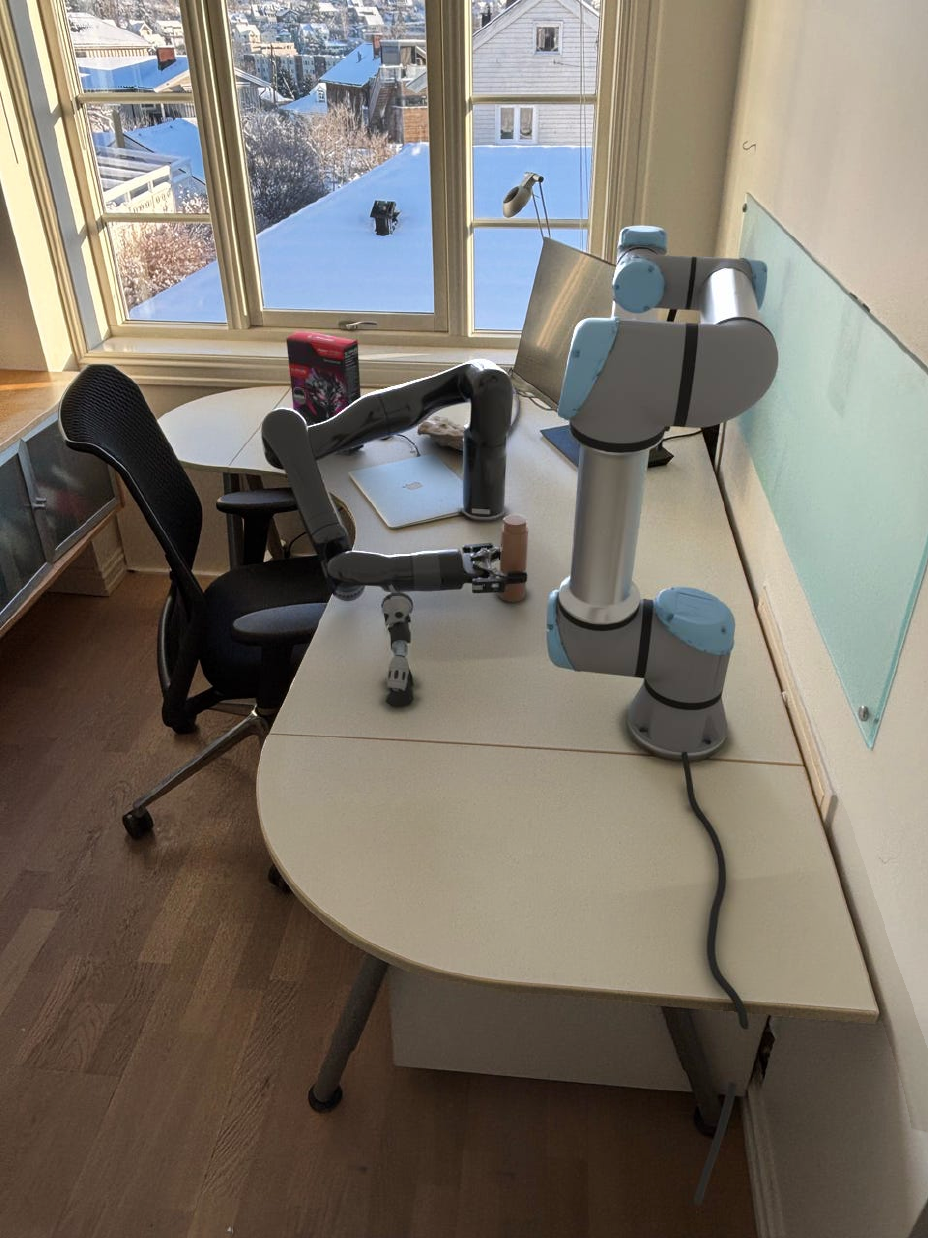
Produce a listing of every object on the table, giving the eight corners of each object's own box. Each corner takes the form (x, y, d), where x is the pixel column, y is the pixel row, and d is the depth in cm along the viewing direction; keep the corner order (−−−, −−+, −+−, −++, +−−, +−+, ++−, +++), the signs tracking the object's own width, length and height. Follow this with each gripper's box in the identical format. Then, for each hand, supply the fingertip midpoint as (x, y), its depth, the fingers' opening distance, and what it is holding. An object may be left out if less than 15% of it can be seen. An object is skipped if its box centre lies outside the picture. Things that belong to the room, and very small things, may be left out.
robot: (415, 731, 142) (412, 624, 131) (384, 732, 142) (378, 624, 131) (414, 656, 158) (412, 555, 147) (386, 656, 158) (381, 555, 147)
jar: (526, 601, 174) (530, 525, 165) (500, 602, 173) (503, 526, 164) (522, 587, 178) (526, 512, 169) (497, 588, 177) (499, 513, 168)
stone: (401, 440, 228) (406, 416, 226) (420, 431, 242) (425, 408, 239) (481, 464, 225) (487, 440, 222) (495, 454, 238) (501, 431, 236)
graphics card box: (294, 443, 234) (283, 336, 218) (310, 434, 239) (300, 328, 224) (350, 457, 227) (343, 347, 212) (366, 447, 232) (360, 339, 217)
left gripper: (431, 568, 178) (514, 563, 180) (440, 608, 166) (529, 602, 168) (431, 534, 174) (516, 529, 176) (440, 573, 162) (530, 566, 164)
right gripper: (700, 320, 156) (683, 439, 168) (554, 322, 154) (547, 442, 166) (714, 333, 150) (694, 455, 161) (562, 335, 148) (553, 458, 159)
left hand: (522, 564), depth 172 cm, fingers open, 8 cm apart
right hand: (620, 449), depth 163 cm, fingers open, 13 cm apart
